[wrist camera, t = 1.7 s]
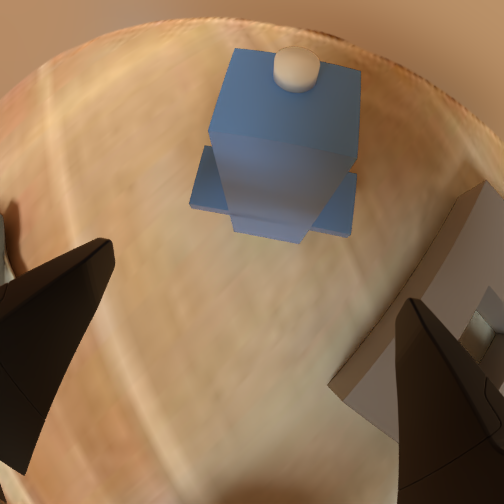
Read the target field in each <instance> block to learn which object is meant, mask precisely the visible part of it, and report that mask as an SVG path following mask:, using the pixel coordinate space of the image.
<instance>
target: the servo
mask: <svg viewBox="0 0 504 504" xmlns="http://www.w3.org/2000/svg"><path fill="white" fill-rule="evenodd" d="M360 96H361V71H358V70H355V69H351V68H347V67H343V66H339V65H335V64H330V63H326V62H321V61H319V59H318V57H317V56H316V55H315V54H314V53H313V52H312V51H310V50H308V49H305V48H302V47H295V46H293V47H286V48H283V49H281V50H280V51H278V52H277V53H271V52H264V51H256V50H247V49H238V48H235V49H234V52H233V55H232V58H231V61H230V64H229V67H228V69H227V72H226V75H225V78H224V81H223V84H222V88H221V91H220V94H219V97H218V100H217V103H216V106H215V109H214V113H213V116H212V119H211V122H210V126H209V129H208V132H209V136H210V140H211V144H212V146H204V150H203V153H202V157H201V161H200V164H199V168H198V171H197V175H196V179H195V183H194V186H193V190H192V194H191V198H190V202H189V205H190V206H191V208H193V209H199V210H204V211H210V212H216V213H222V214H227V215H230V217H231V221H232V225H233V229H234V232H239V233H245V234H250V235H255V236H260V237H266V238H271V239H276V240H281V241H287V242H292V243H297V244H299V243H300V242H301V240H302V239H303V238H304V236H305V235H306V233H307V232H308V230H311V231H316V232H321V233H326V234H331V235H336V236H341V237H346V238H347V237H348V236H350V235H351V229H352V221H353V212H354V203H355V193H356V182H357V174H355V173H351V172H349V170H350V169H351V167H352V166H353V164H354V163H355V161H356V160H357V155H358V140H359V122H360Z"/></svg>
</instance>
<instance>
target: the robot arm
mask: <svg viewBox="0 0 504 504" xmlns="http://www.w3.org/2000/svg"><path fill="white" fill-rule="evenodd" d="M114 267H115V257H114V250H113V244H112V241H111V240H110V239H105V238H97V239H95V240H92V241H90V242H88V243H86V244H84V245H82V246H79V247H77V248H75V249H73V250H71V251H69V252H67V253H65V254H63V255H60V256H58V257H56V258H54V259H52V260H50V261H48V262H46V263H44V264H42V265H40V266H38V267H36V268H34V269H32V270H30V271H28V272H26V273H24V274H22V275H20V276H19V277H17V278H15V279H13V280H11V281H9V283H8V282H7V283H5V284H3V285H1V286H0V461H2V462H3V463H5V464H6V465H8V466H9V467H11V468H12V469H14V470H16V471H17V472H19V473H20V474H22V475H24V476H25V474H26V471H27V468H28V465H29V463H30V460H31V457H32V454H33V451H34V448H35V446H36V443H37V440H38V438H39V435H40V432H41V430H42V427H43V425H44V422H45V419H46V417H47V414H48V412H49V410H50V407H51V405H52V402H53V400H54V398H55V395H56V393H57V391H58V388H59V386H60V384H61V382H62V379H63V377H64V375H65V373H66V371H67V369H68V366H69V364H70V362H71V360H72V358H73V356H74V354H75V352H76V350H77V348H78V346H79V344H80V341H81V339H82V337H83V335H84V333H85V332H86V330H87V328H88V326H89V324H90V322H91V320H92V318H93V316H94V314H95V312H96V310H97V308H98V306H99V304H100V301H101V299H102V296H103V294H104V291H105V289H106V287H107V284H108V282H109V279H110V277H111V275H112V272H113V270H114ZM395 374H396V387H397V403H398V428H399V478H398V499H397V504H504V396H503V395H502V394H501V393H500V391H499V390H498V389H497V388H496V386H495V385H494V384H493V383H492V381H491V380H490V379H489V378H488V376H486V374H485V373H484V371H483V370H482V369H481V368H480V367H479V365H478V364H477V363H476V362H475V360H474V359H473V358H472V357H471V356H470V354H469V353H468V352H467V351H466V350H465V349H464V347H463V346H462V345H461V344H460V343H459V342H458V340H457V339H456V338H455V337H454V336H453V335H452V333H451V332H450V331H449V330H448V329H447V328H446V327H445V326H444V324H443V323H442V322H441V321H440V320H439V319H438V318H437V317H436V316H435V314H434V313H433V312H432V311H431V310H430V309H429V308H428V307H427V306H426V305H425V304H424V302H423V301H422V300H421V299H418V298H412V297H409V298H407V299H406V301H405V302H404V304H403V306H402V308H401V309H400V311H399V313H398V315H397V317H396V320H395ZM6 503H7V502H6V499H5V496H4V493H3V491H2V488H1V485H0V504H6Z"/></svg>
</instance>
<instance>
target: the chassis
mask: <svg viewBox="0 0 504 504" xmlns="http://www.w3.org/2000/svg"><path fill="white" fill-rule="evenodd" d="M409 297H412V298H418V299H421V300H422V301H423V302H424V304H425V305H426V306H427V307H428V308H429V309H430V310H431V311H432V312H433V313H434V314H435V316H436V317H437V318H438V319H439V320H440V321H441V322H442V323H443V324H444V326H445V327H446V328H447V329H448V330H449V331H450V332H451V333H452V335H453V336H454V337H455V338H456V339H457V340H459V338H460V337H461V335H462V333H463V332H464V330H465V328H466V327H467V325H468V323H469V321H470V320H471V318H472V316H473V314H474V312H475V311H476V310H477V311H478V312H479V314H480V315H481V316H482V317H483V318H484V319H485V320H486V322H487V323H488V324H489V325H490V326H491V327H492V329H493V330H494V331H495V332H496V333H497V334H496V336H495V337H494V339H493V341H492V343H491V345H490V347H489V348H488V350H487V352H486V354H485V355H484V357H483V359H482V361H481V362H480V364H479V367H480V368H481V369H482V370H483V371H484V373H485V374H486V376H488V378H489V379H490V380H491V381H492V383H493V384H494V385H495V386H496V388H497V389H498V390H499V391H500V393H501V394H502V395H503V396H504V200H503V198H502V197H501V196H500V195H499V194H498V193H497V192H496V190H495V189H494V188H493V187H492V186H491V185H490V184H489V183H488V181H487V180H485V181H484V182H482V183H480V184H479V185H477V186H475V187H474V188H472V189H471V190H469V191H467V192H466V193H464V194H462V195H461V196H459V197H458V199H457V201H456V203H455V204H454V206H453V208H452V210H451V212H450V213H449V215H448V217H447V219H446V221H445V222H444V224H443V226H442V227H441V229H440V231H439V233H438V234H437V236H436V238H435V239H434V241H433V243H432V244H431V246H430V247H429V249H428V251H427V252H426V254H425V255H424V257H423V259H422V260H421V262H420V263H419V265H418V266H417V268H416V269H415V271H414V273H413V274H412V276H411V277H410V279H409V280H408V282H407V283H406V284H405V286H404V287H403V289H402V290H401V292H400V293H399V295H398V296H397V298H396V299H395V300H394V302H393V303H392V305H391V306H390V307H389V309H388V310H387V311H386V313H385V314H384V316H383V317H382V318H381V320H380V321H379V322H378V324H377V325H376V326H375V328H374V329H373V330H372V332H371V333H370V334H369V335H368V337H367V338H366V339H365V341H364V342H363V343H362V344H361V346H360V347H359V348H358V349H357V351H356V352H355V353H354V354H353V356H352V357H351V358H350V359H349V360H348V362H347V363H346V364H345V365H344V366H343V368H342V369H341V370H340V371H339V372H338V374H337V375H336V376H335V377H334V378H333V379H332V381H331V382H330V383H329V384H328V385H327V386H328V387H329V388H330V389H331V390H332V391H333V392H334V393H335V394H336V395H337V396H338V397H339V398H340V399H341V400H342V401H343V402H344V403H345V404H346V405H348V406H349V407H350V408H352V409H353V410H354V411H356V412H357V413H358V414H360V415H361V416H362V417H364V418H365V419H366V420H368V421H369V422H370V423H372V424H373V425H374V426H376V427H377V428H378V429H380V430H381V431H382V432H384V433H385V434H386V435H388V436H389V437H391V438H392V439H393V440H395V441H396V442H397V443H399V428H398V403H397V387H396V374H395V320H396V317H397V315H398V313H399V311H400V309H401V308H402V306H403V304H404V302H405V301H406V299H407V298H409Z"/></svg>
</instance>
